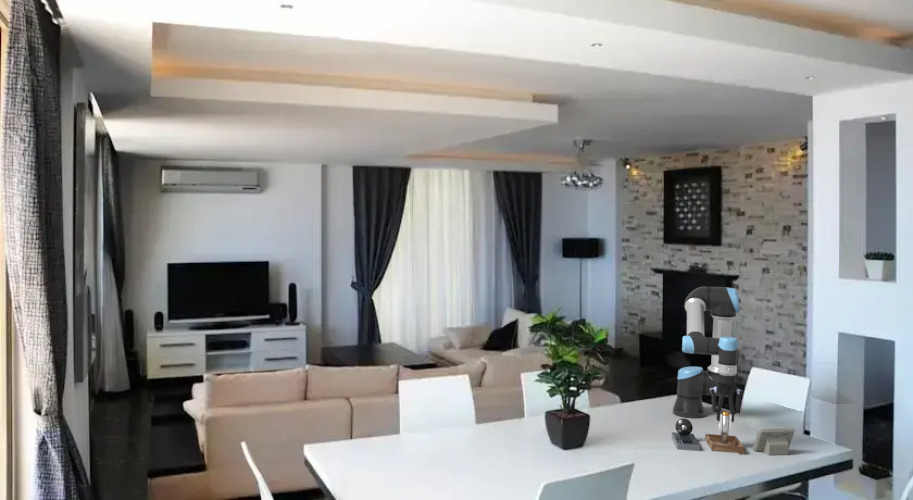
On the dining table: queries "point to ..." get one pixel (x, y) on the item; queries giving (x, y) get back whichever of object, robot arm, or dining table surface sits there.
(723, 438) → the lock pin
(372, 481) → the dining table surface
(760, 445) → the digital clock
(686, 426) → the tensioner block
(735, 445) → the walnut tray
